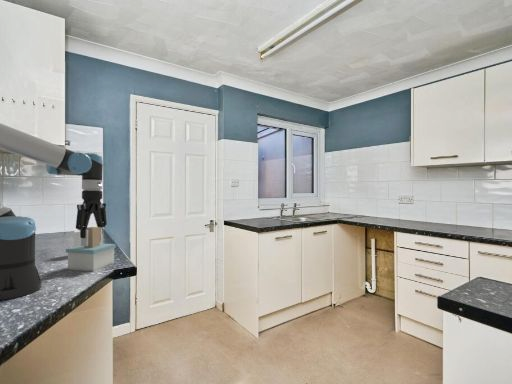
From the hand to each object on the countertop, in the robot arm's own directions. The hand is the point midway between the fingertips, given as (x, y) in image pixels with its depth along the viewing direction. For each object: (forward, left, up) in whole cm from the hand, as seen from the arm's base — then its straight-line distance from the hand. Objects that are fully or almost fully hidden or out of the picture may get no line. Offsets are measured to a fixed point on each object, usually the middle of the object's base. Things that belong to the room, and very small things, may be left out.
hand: (92, 243), depth 118 cm
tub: (0, 0, -10) cm, 10 cm away
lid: (0, 0, -4) cm, 4 cm away
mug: (+17, +22, -10) cm, 29 cm away
